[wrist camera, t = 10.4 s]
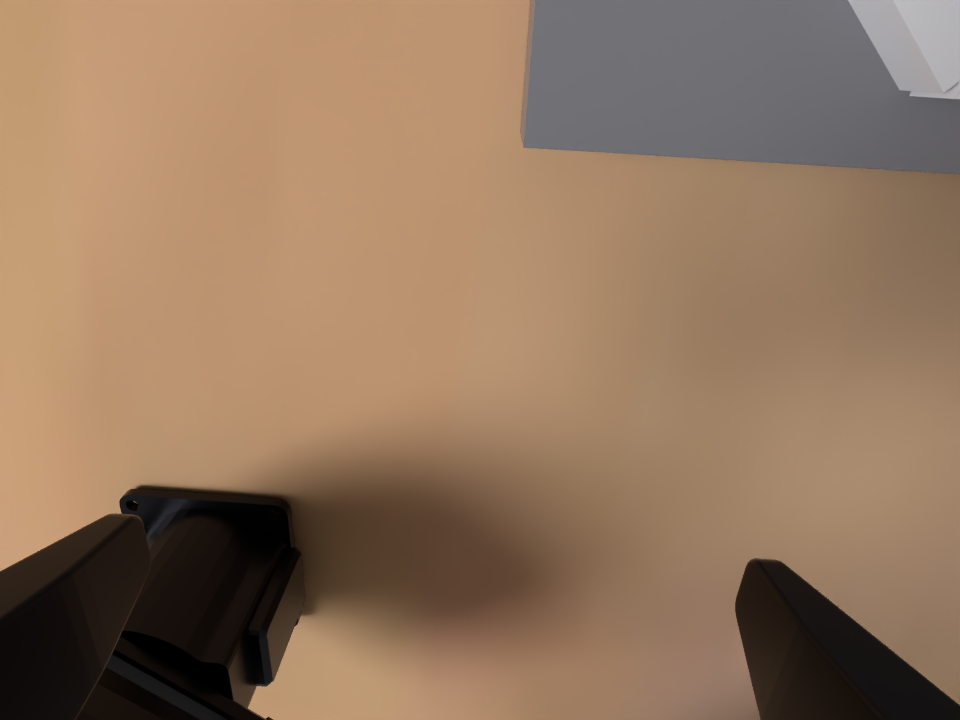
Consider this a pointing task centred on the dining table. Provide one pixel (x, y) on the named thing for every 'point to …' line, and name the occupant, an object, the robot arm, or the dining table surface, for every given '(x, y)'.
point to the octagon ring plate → (748, 80)
